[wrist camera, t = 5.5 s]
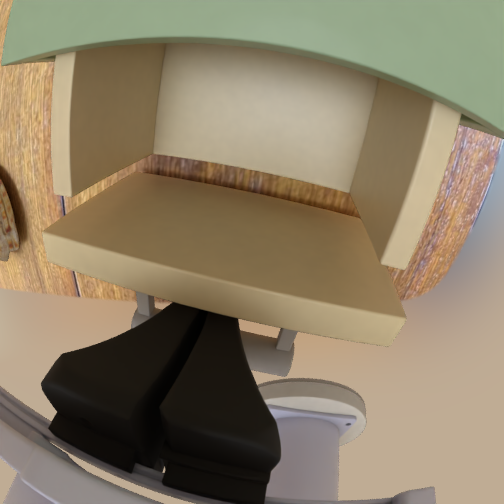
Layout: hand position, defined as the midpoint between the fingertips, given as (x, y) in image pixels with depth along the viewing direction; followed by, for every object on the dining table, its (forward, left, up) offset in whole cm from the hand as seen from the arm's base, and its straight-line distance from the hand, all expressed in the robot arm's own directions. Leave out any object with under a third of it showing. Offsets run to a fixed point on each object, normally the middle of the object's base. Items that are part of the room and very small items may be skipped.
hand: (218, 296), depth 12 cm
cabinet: (+15, 0, -5) cm, 16 cm away
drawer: (+6, 0, -4) cm, 7 cm away
